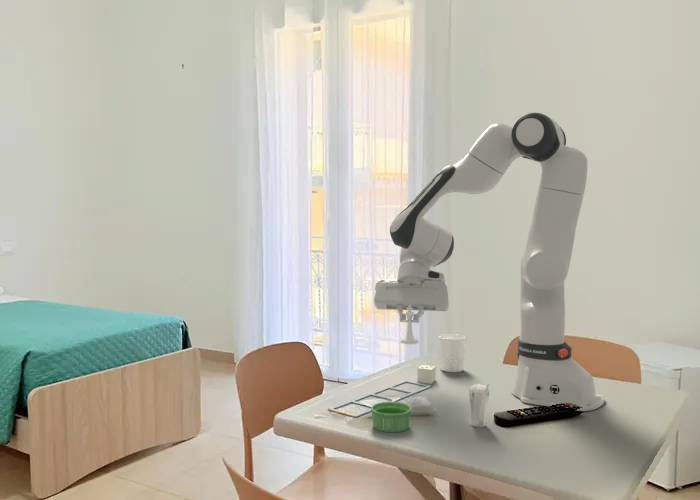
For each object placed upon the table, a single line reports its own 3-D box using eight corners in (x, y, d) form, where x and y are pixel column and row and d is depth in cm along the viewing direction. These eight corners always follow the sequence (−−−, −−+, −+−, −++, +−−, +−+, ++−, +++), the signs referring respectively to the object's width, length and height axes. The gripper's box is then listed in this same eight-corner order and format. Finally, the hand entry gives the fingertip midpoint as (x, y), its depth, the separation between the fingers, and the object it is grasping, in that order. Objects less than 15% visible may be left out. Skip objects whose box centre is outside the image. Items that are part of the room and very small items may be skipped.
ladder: (431, 386, 176) (431, 385, 176) (356, 417, 151) (356, 416, 151) (405, 381, 182) (405, 380, 182) (328, 410, 156) (328, 408, 156)
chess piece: (412, 345, 171) (412, 307, 170) (396, 342, 174) (396, 305, 173) (422, 341, 175) (422, 304, 174) (407, 339, 178) (407, 303, 177)
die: (435, 380, 183) (435, 366, 183) (431, 384, 180) (431, 369, 179) (421, 378, 185) (422, 364, 185) (417, 382, 181) (417, 368, 181)
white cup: (438, 372, 192) (438, 338, 191) (438, 365, 199) (439, 333, 199) (465, 373, 190) (465, 339, 190) (465, 366, 198) (465, 334, 197)
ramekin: (419, 428, 144) (420, 409, 144) (387, 437, 139) (387, 416, 139) (394, 417, 151) (394, 399, 151) (363, 425, 146) (363, 405, 146)
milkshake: (479, 430, 142) (480, 385, 142) (464, 423, 147) (464, 380, 146) (495, 427, 144) (496, 383, 144) (480, 420, 149) (480, 377, 148)
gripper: (375, 272, 182) (369, 313, 173) (449, 274, 178) (447, 315, 169) (377, 286, 187) (372, 326, 178) (449, 288, 183) (447, 329, 174)
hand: (409, 321), depth 173 cm, fingers closed on chess piece, 2 cm apart
